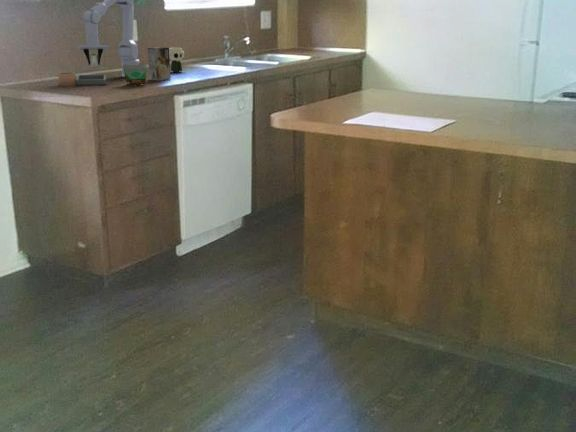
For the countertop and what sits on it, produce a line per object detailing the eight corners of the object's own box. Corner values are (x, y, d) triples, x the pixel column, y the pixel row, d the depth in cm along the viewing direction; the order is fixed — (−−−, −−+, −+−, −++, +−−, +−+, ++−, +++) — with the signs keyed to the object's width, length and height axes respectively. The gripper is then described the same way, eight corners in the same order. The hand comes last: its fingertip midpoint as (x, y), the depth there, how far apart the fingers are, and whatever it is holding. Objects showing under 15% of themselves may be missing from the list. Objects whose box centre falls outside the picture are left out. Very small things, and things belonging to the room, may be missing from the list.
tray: (106, 79, 376) (105, 74, 375) (105, 84, 357) (105, 79, 356) (77, 80, 373) (77, 75, 372) (76, 85, 354) (75, 80, 353)
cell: (98, 67, 367) (97, 53, 365) (98, 67, 364) (97, 54, 362) (90, 67, 366) (89, 53, 364) (90, 68, 363) (89, 54, 361)
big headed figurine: (171, 73, 402) (170, 49, 398) (164, 72, 407) (163, 48, 403) (188, 72, 409) (187, 48, 405) (181, 70, 414) (180, 47, 410)
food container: (126, 86, 351) (125, 65, 348) (123, 85, 357) (122, 64, 354) (151, 85, 357) (150, 64, 354) (147, 83, 362) (146, 63, 359)
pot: (76, 84, 359) (75, 71, 357) (75, 86, 351) (74, 73, 349) (59, 84, 357) (58, 71, 355) (58, 86, 350) (57, 73, 348)
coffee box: (163, 78, 383) (161, 46, 378) (170, 79, 379) (169, 47, 374) (148, 79, 377) (147, 47, 372) (156, 80, 373) (155, 48, 368)
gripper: (76, 37, 355) (78, 65, 359) (107, 36, 358) (109, 65, 363) (77, 36, 362) (79, 64, 366) (107, 35, 365) (109, 63, 369)
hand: (94, 64), depth 365 cm, fingers closed on cell, 4 cm apart
